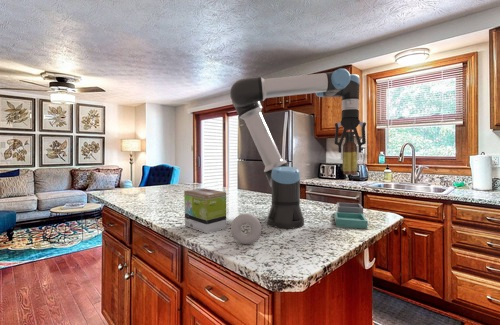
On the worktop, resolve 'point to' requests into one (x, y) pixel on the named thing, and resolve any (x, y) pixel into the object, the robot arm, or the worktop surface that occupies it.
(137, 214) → the worktop surface
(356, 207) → the bottle holder
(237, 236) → the donut
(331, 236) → the worktop surface
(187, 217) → the tea box
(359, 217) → the tray
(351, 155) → the sauce bottle
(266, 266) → the worktop surface
